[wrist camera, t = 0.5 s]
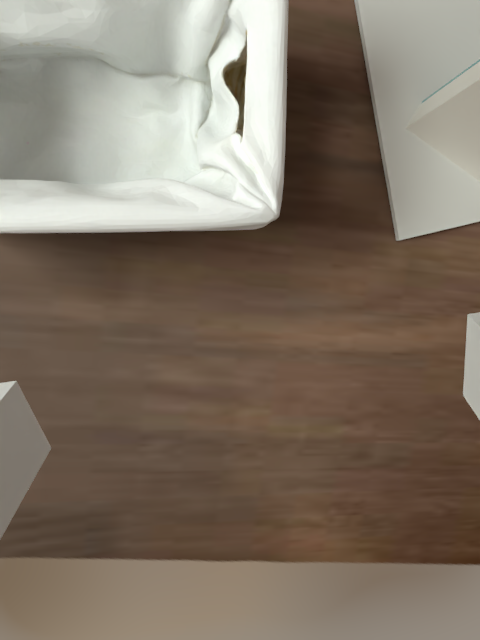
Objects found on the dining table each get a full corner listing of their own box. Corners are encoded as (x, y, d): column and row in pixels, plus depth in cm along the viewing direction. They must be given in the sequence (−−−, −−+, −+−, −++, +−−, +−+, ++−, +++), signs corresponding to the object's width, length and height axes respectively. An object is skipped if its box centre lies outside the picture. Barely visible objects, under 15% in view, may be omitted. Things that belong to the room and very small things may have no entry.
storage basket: (256, 31, 34) (293, -137, 20) (255, 243, 36) (288, 232, 22) (-67, 20, 32) (-288, -175, 18) (-47, 243, 35) (-230, 231, 20)
